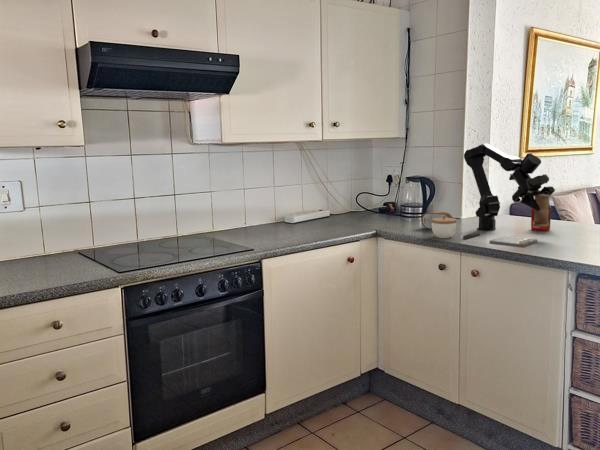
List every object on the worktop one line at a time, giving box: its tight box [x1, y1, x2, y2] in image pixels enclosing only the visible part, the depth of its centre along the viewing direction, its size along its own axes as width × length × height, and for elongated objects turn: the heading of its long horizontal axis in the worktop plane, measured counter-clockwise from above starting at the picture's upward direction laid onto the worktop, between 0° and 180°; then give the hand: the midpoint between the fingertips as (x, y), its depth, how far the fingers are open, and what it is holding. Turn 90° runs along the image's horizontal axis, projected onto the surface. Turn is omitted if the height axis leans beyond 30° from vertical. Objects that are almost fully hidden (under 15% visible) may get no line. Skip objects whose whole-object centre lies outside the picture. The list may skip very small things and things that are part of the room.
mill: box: [533, 194, 551, 227], centre depth 219 cm, size 6×6×12 cm
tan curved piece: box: [421, 210, 453, 230], centre depth 254 cm, size 15×3×8 cm, turn 54°
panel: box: [489, 235, 538, 248], centre depth 217 cm, size 14×13×1 cm
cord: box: [462, 231, 481, 240], centre depth 231 cm, size 14×2×2 cm, turn 135°
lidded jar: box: [431, 216, 457, 239], centre depth 234 cm, size 11×11×9 cm
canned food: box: [530, 205, 552, 232], centre depth 243 cm, size 8×8×11 cm
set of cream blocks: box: [519, 237, 532, 244], centre depth 212 cm, size 1×8×1 cm, turn 135°
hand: (544, 209), depth 217 cm, fingers closed on mill, 5 cm apart
